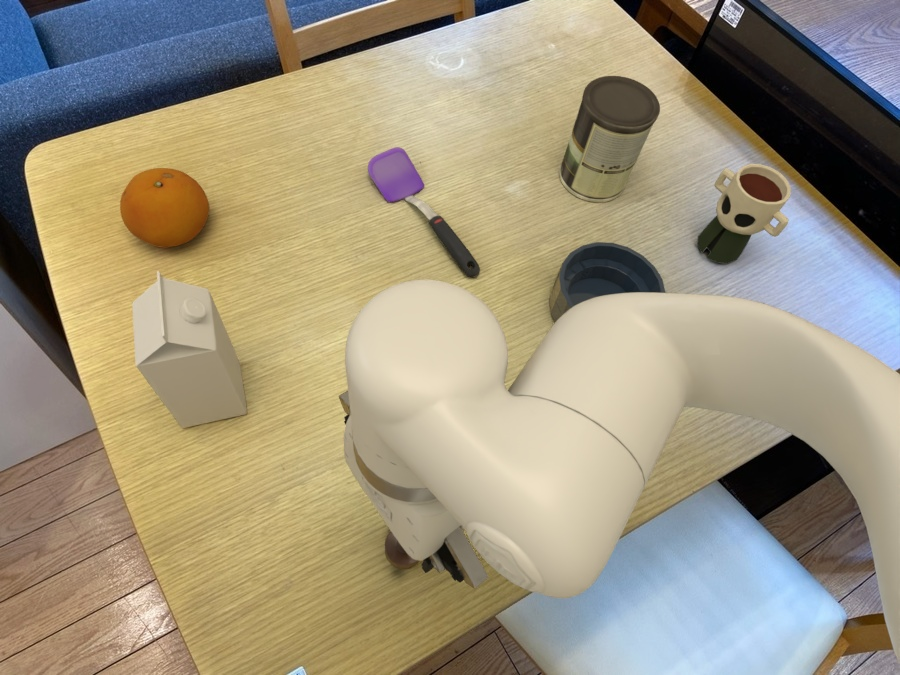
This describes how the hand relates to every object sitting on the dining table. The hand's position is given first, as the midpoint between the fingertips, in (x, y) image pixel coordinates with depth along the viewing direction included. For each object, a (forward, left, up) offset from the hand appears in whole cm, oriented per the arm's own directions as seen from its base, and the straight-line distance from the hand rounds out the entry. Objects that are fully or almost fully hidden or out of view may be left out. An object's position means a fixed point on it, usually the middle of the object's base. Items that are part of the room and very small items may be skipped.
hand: (404, 510), depth 53 cm
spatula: (+35, -28, -15) cm, 47 cm away
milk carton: (+27, +8, -15) cm, 31 cm away
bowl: (+10, -38, -14) cm, 42 cm away
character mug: (+8, -60, -15) cm, 62 cm away
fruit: (+52, +1, -15) cm, 54 cm away
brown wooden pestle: (0, 0, -14) cm, 14 cm away
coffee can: (+28, -54, -15) cm, 62 cm away
